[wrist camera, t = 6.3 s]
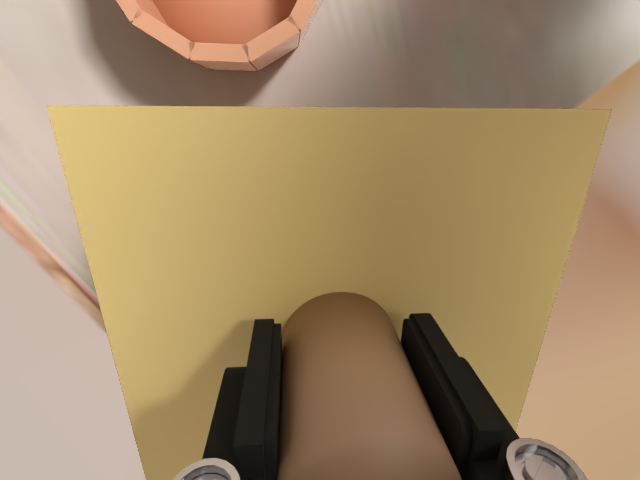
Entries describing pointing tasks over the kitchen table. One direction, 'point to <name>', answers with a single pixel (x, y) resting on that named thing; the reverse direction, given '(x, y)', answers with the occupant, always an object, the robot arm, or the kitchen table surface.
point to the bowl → (225, 28)
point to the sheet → (323, 263)
